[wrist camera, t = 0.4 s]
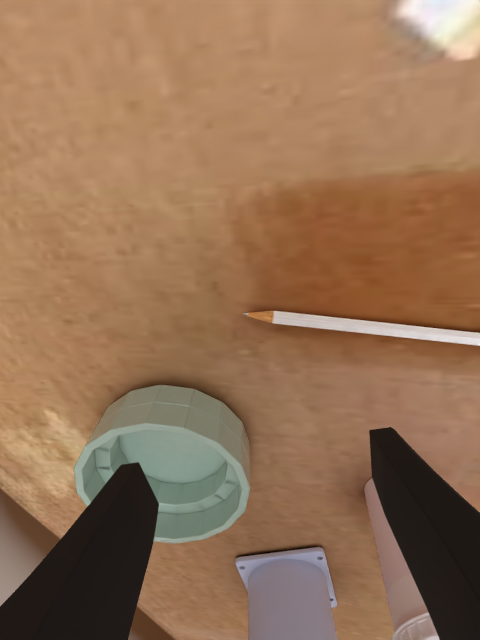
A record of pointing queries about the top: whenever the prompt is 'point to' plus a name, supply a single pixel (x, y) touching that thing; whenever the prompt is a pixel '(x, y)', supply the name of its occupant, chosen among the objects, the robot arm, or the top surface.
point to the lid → (173, 458)
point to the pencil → (367, 327)
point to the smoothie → (398, 578)
